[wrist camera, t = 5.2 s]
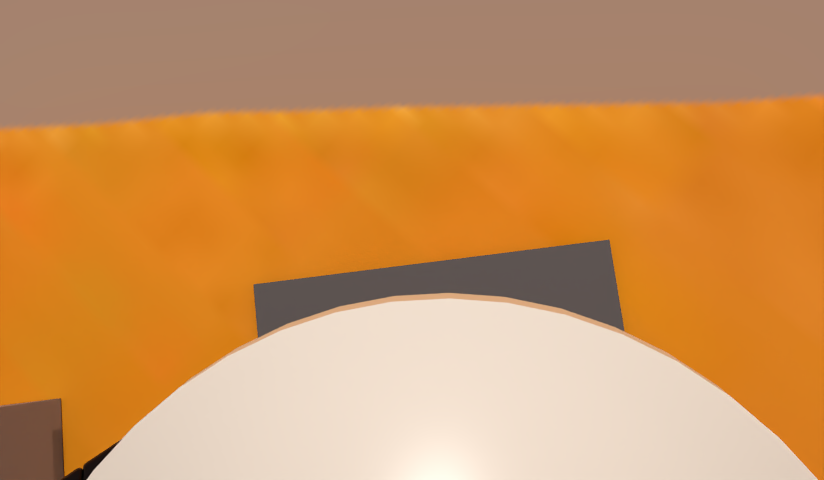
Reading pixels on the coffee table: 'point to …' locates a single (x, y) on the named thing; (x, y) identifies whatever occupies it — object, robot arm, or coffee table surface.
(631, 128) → the coffee table surface
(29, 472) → the bin
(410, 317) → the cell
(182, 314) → the coffee table surface
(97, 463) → the robot arm
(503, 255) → the mat
